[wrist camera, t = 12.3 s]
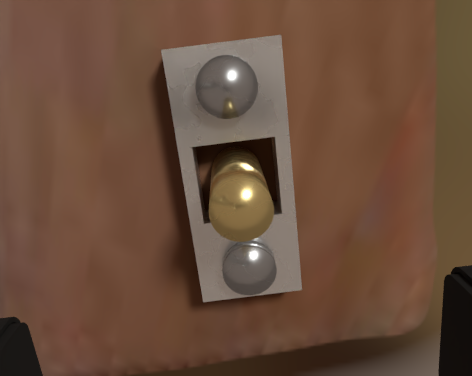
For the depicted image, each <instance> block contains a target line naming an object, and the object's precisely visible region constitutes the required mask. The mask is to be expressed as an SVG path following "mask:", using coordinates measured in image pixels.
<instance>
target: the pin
mask: <svg viewBox="0 0 472 376" xmlns="http://www.w3.org/2000/svg"><path fill="white" fill-rule="evenodd" d="M273 217H274V205H273V201H272V198H271V195H270V192H269V190H268V187H267V184H266V181H265V178H264V175H263V172H262V169H261V166H260V163H259V161H258V159H257V157H256V156H255V155H254V154H253V153H252V152H251V151H250V150H248V149H246V148H243V147H238V146H236V147H229V148H226V149H224V150H223V151H221V152H220V153H219V154H218V155H217V156H216V157H215V159H214V161H213V164H212V171H211V185H210V199H209V219H210V222H211V224H212V226H213V228H214V229H215V230H216V231H217V233H219V234H220V235H221V236H223V237H224V238H226V239H228V240H231V241H236V242H246V241H250V240H253V239H256V238H258V237H259V236H261V235H262V234H263V233H264V232H266V230H267V229H268V228H269V226H270V225H271V223H272V220H273Z"/></svg>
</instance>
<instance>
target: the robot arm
mask: <svg viewBox="0 0 472 376" xmlns="http://www.w3.org/2000/svg"><path fill="white" fill-rule="evenodd" d="M0 376H43V375H42V371H41V368H40V365H39V361H38V358H37V355H36V351H35V348H34V345H33V341H32V338H31V334H30V331H29V328H28V326H27V324H26V323H20V321H19V319H18V318H16V317H8V318H0ZM439 376H472V265H471V266H462V267H455V268H454V269H453V270H452V272H451V274H450V275H447V276H446V277H445V280H444V293H443V308H442V325H441V341H440V357H439Z"/></svg>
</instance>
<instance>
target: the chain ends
mask: <svg viewBox="0 0 472 376" xmlns="http://www.w3.org/2000/svg"><path fill="white" fill-rule="evenodd" d="M161 52H162V58H163V64H164V70H165V76H166V82H167V88H168V94H169V100H170V106H171V112H172V118H173V124H174V130H175V136H176V142H177V148H178V154H179V160H180V166H181V172H182V178H183V184H184V190H185V196H186V202H187V208H188V214H189V220H190V226H191V232H192V238H193V244H194V250H195V256H196V262H197V268H198V274H199V280H200V286H201V292H202V298H203V302H209V301H217V300H226V299H234V298H242V297H250V296H258V295H266V294H274V293H282V292H290V291H298V290H302V284H301V272H300V259H299V247H298V235H297V223H296V211H295V199H294V186H293V174H292V162H291V150H290V138H289V125H288V113H287V101H286V89H285V77H284V65H283V52H282V40H281V35H276V36H268V37H260V38H252V39H244V40H236V41H228V42H220V43H212V44H205V45H197V46H189V47H181V48H173V49H165V50H161ZM268 137H271V141H272V151H273V162H274V172H275V183H276V193H277V201H275V202H273V205H274V217H273V220H272V223H271V225H270V226H269V228H268V229H267V230H266V232H264V233H263V234H262V235H261V236H259V237H258V238H256V239H253V240H250V241H246V242H236V241H231V240H228V239H226V238H224V237H223V236H221V235H220V234H219V233H217V231H216V230H215V229H214V228H213V226H212V224H211V222H210V219H209V210H205V206H204V199H203V193H202V186H201V180H200V173H199V167H198V160H197V153H196V147H197V146H205V145H213V144H220V143H228V142H236V141H244V140H252V139H260V138H268Z"/></svg>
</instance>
